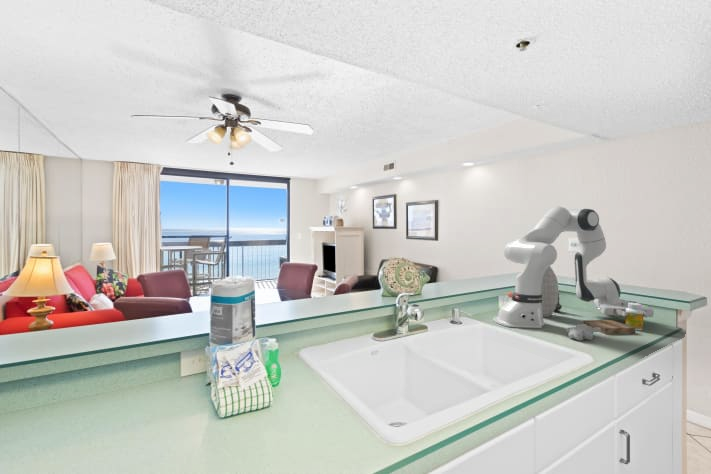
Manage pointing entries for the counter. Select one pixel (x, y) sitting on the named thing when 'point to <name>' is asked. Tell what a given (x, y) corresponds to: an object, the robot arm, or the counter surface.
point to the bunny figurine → (582, 332)
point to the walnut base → (610, 326)
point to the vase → (549, 292)
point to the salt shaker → (558, 306)
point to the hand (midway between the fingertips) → (636, 314)
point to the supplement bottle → (634, 316)
